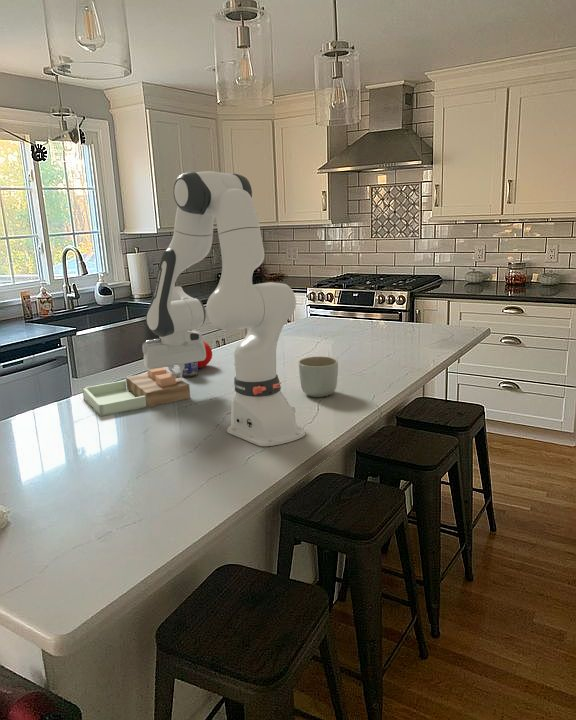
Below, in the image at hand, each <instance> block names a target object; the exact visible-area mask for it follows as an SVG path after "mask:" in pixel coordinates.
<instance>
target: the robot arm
mask: <svg viewBox="0 0 576 720" xmlns="http://www.w3.org/2000/svg"><path fill="white" fill-rule="evenodd" d="M251 186H252V185H251V183H250V181H249V180H248V178H247V177H246V176H244V175H241V174H238V173H234V172H232V173H227V172H220V171H219V172H218V171H215V170H214V171H212V170H210V171H208V170H207V171H197V172H196V171H187V172H184V173H181V174H179V175H178V176H177V177H176V180H175V182H174V185H173V199H174V201H175V203H176V205H177V207H176V212H175V219H174V226H173V227H174V229H173V234H172V239H171V241H170V243H169V245H168V247H167V249H165V251H163V252H162V254H161V256H160V260H159V265H158V268H157V273H156V279H155V283H154V287H153V292H152V297H151V299H150V300H151V301H150V304H149V306H148V308H147V310H146V312H147V313H146V316H145V317H146V318H145V321H146V326H147V328H148V329H149V330H150V332H152V333H153V334H154V335H155V336H157V337H159V338H154V339H148V340H146V341H145V342H143V343H142V347H141V348H142V353H143V365H144V368H146V370H147V369H149V370H151V369H157V368H167V369H168V372H169V373H171V374H172V375H174V376H175V379H176V378H179V379H181V378H183V376H182V371H183V369H184V367H185V365H184V364H186V363H191V362H197V361H203V360H205V358H206V350H205V345H204V342H205V341H204V342H203V340H202V339H203V334H202V333H201V332H199V331H197V330H195V329H198V328H201V327H202V326H203V325H204V324H205V321H206V317H207V318H208V321H209V323H210V324H211V325H212V326H213V327H214V328H215V329H217V330H223V331H225V330H226V331H228V330H229V331H237V330H243V329H248V330H247V333H246V335H245V336H244V338H243V339H242V340H241V341H240V342H239V343H238V344H237V345H236V347H235V349H234V353H233V354H234V355H233V356H234V372H235V376H234V378H233V379H234V382H233V386H234V391H235V393H234V394H235V395H234V397H233V398H232V401H231V405H230V406H231V407H230V408H231V409H230V410H231V411H230V412H231V414H230V426H228V427H227V434H229V435H233V436H234V437H237V438H239V439H242V440H245V441H247V442H249V443H251V444H254V445H256V446H259V447H270V446H271V447H273V446H279V445H282V444H287V443H290V442H294V441H297V440H298V439H301V438H303V437H304V436H305V435H306V431H305V429H303V428H302V427H301V425H299V424H298V423H297V421H296V415H295V414H296V408H295V405H290V403H289V402H288V399H287V397H285V396H284V395H283V393H282V390H281V389H282V386H281V385H282V383H281V382H280V378H279V375H278V374H277V345H278V342H279V341H278V340H279V338H280V335H281V333H282V330H283V327H284V326H285V324H286V323H287V321H288V320H289V319H290V318H291V316H293V315H294V313H295V311H296V307H297V300H296V294H295V292H294V290H293V289H292V288H291V287H290V286H289V285H288V284H287V283H281V282H271V281H269V282H262V283H261V282H260V283H256V284H255V283H254V284H253V274H254V271H255V270H257V269H258V268H259V267H260V266H261V264H262V263H263V262H264V260H265V255H266V254H265V249H264V243H263V236H262V232H261V225H260V222H259V221H260V220H259V217H258V213H257V210H256V207H255V204H254V201H253V191H252V187H251ZM214 220H215V221H216V229H217V236H218V241H219V247H220V248H219V249H220V255H221V267H222V268H221V275H220V278H219V282H218V284H217V286H216V287H215V289H214V291H213V292H212V293H211V294H210V295H209V297H208V299H207V302H206V307H205V305H204V304H203V302H202V301H201V300H199V299H198V298H194V297H192V296H190V295H189V294H187V293H186V292H185V291H184V290H183V287H182V286H180V285H176V281H177V279H178V277H179V275H181V273H183V272H184V271H185V270H187V269H188V268H190V267H192V266H193V265H195V264H197V263H199V262H201V261H202V260H204V259H205V258H206V257H207V256H208V255H209V253H210V251H211V248H212V245H213V237H214ZM175 366H178V367H179V368H178V370H177V371H174V369H175Z"/></svg>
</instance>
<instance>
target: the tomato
mask: <svg viewBox="0 0 576 720" xmlns="http://www.w3.org/2000/svg"><path fill="white" fill-rule="evenodd" d="M202 341H203V340H202ZM203 342H204V345H205V350H206V358H205V360H203V361H197V364H198V369H201V368H203V367H205V366H207V365H208V364H210V362H211V360H212V359H213V351H212V348H211V347H210V345H209V344H208V342H205V341H203Z"/></svg>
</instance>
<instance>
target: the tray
mask: <svg viewBox="0 0 576 720" xmlns="http://www.w3.org/2000/svg"><path fill="white" fill-rule="evenodd" d="M81 389H82V395H83V397H82V398H83V399H84V400H85V402H87V403H88V404H89V405H91V406H92V407H93V408H92V407H91V406H90V407H91V408H92V409H93V410H94V412H96V413H97V414H98V416H99V417H105V415H106V416H111V415H114V414H115V415H116V414H120V413H119V412H121V413H125V412H130V411H134V410H139V409H144V408H147V406H146V398H145V396H140V397H135V396H134V395H133V394H132V393H131V392H129V391H128V390H127V383H126V379H124V380H118V381H113V382H107V383H102V384H101V383H100V384H96V385H91V386H86V387H82V388H81ZM124 411H125V412H124ZM110 414H111V415H110Z"/></svg>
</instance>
